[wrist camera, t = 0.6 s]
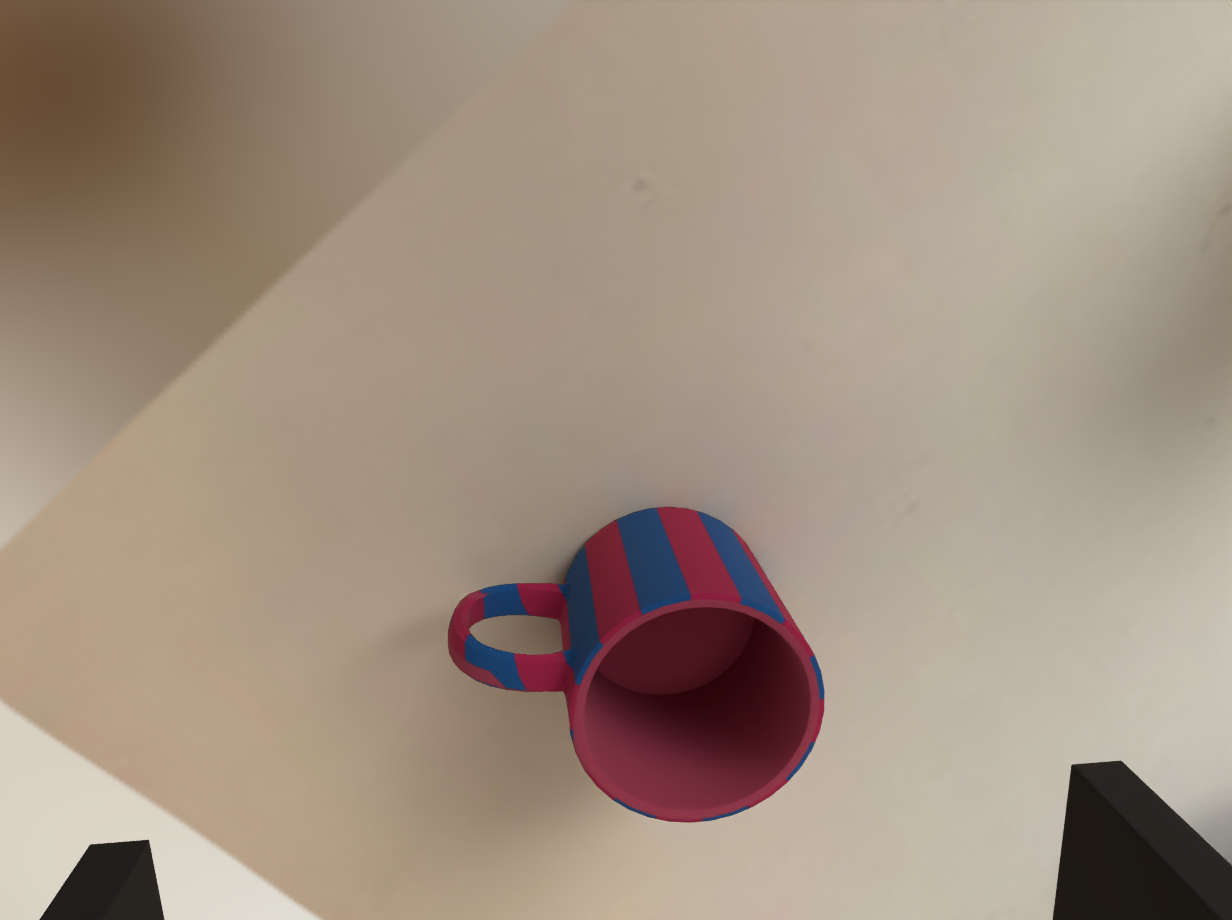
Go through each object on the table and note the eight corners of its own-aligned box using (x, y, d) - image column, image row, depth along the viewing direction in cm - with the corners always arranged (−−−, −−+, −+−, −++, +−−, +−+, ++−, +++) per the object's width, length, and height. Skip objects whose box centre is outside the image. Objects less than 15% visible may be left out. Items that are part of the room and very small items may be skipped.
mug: (721, 713, 32) (769, 847, 25) (437, 638, 30) (411, 761, 24) (793, 539, 30) (864, 634, 24) (498, 449, 29) (488, 525, 22)
